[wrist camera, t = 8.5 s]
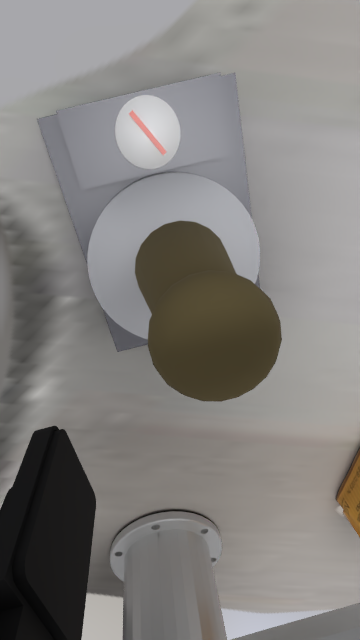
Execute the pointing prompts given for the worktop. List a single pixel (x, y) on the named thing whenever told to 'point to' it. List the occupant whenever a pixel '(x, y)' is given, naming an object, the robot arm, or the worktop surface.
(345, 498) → the pancake mix bag
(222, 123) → the kitchen scale
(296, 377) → the worktop surface
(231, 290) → the cork
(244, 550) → the worktop surface
